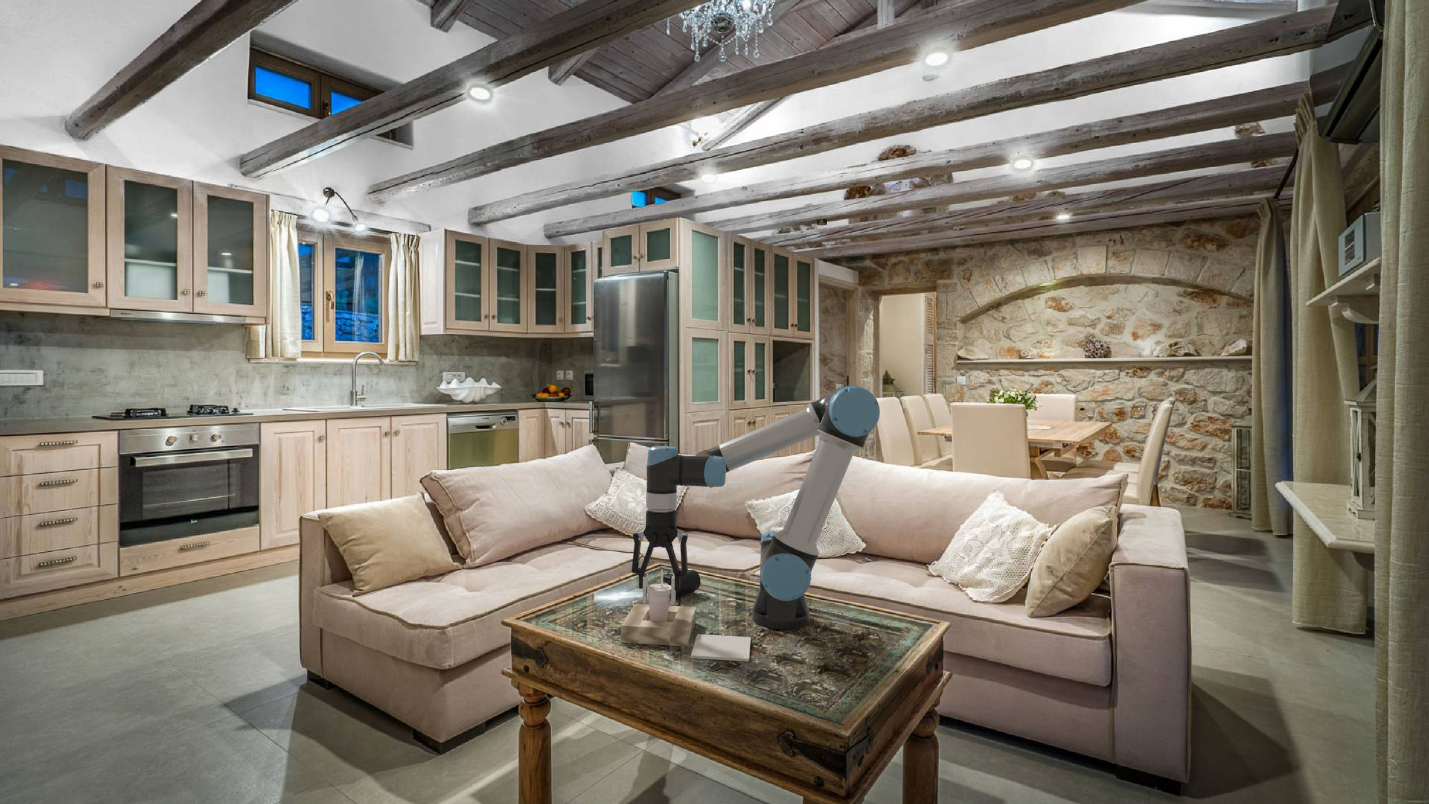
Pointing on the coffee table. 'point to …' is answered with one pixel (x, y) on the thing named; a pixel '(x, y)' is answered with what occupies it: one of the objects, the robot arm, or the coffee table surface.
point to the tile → (721, 647)
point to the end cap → (685, 582)
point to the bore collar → (659, 626)
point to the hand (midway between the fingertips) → (659, 602)
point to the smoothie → (659, 600)
